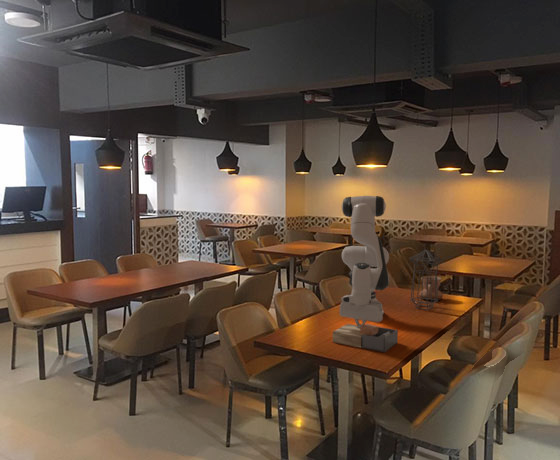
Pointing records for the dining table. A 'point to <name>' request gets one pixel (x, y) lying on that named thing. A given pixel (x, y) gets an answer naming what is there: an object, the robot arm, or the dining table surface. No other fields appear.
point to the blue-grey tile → (385, 335)
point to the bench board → (348, 335)
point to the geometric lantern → (427, 277)
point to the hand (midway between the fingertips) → (360, 328)
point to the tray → (380, 340)
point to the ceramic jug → (424, 292)
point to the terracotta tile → (369, 329)
